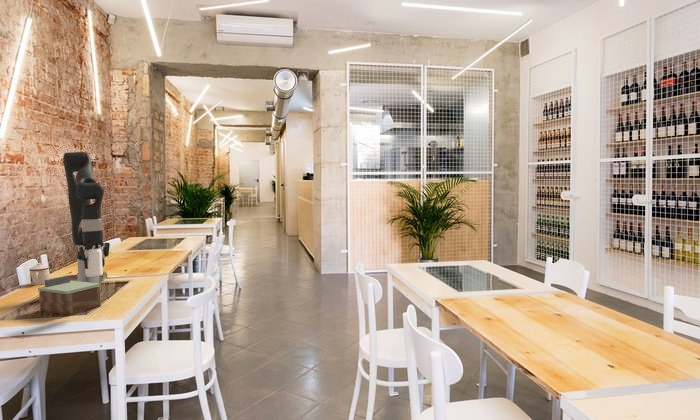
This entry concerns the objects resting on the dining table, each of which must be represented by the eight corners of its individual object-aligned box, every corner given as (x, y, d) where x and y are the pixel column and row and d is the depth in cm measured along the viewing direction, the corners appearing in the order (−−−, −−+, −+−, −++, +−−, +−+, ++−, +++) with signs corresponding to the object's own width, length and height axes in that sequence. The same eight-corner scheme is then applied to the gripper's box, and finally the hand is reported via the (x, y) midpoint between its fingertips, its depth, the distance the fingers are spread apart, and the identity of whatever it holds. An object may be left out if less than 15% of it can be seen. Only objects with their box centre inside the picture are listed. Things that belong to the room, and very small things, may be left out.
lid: (38, 290, 195) (37, 281, 194) (71, 283, 208) (70, 274, 208) (67, 294, 187) (67, 284, 186) (100, 286, 200) (99, 277, 200)
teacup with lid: (32, 282, 254) (31, 262, 254) (51, 281, 258) (49, 261, 257) (27, 287, 244) (25, 266, 243) (46, 285, 247) (45, 264, 246)
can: (95, 277, 187) (93, 249, 186) (81, 277, 189) (80, 249, 188) (106, 274, 194) (104, 247, 193) (93, 273, 195) (92, 246, 194)
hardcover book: (66, 282, 257) (65, 274, 256) (107, 278, 264) (106, 271, 264) (61, 286, 246) (60, 279, 245) (103, 282, 253) (103, 275, 253)
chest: (40, 310, 196) (39, 290, 195) (71, 302, 208) (70, 283, 208) (70, 315, 188) (68, 294, 187) (100, 306, 200) (99, 287, 200)
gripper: (101, 227, 198) (104, 264, 199) (70, 231, 185) (73, 271, 186) (113, 227, 195) (115, 265, 196) (82, 231, 182) (85, 272, 183)
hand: (94, 268), depth 191 cm, fingers closed on can, 5 cm apart
